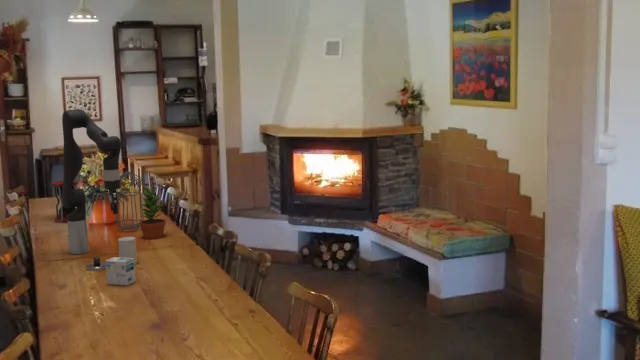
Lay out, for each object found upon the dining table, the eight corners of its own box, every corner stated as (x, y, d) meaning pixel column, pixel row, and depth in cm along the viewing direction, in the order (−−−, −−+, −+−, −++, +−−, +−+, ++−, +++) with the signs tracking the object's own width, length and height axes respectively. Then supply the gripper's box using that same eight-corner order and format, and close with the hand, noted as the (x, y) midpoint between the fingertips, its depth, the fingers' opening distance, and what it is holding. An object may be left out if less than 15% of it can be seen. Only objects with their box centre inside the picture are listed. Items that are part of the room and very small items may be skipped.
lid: (81, 269, 338) (81, 258, 338) (99, 264, 347) (98, 254, 346) (95, 272, 333) (94, 261, 332) (112, 267, 341) (111, 256, 340)
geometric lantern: (123, 227, 429) (120, 169, 424) (148, 227, 427) (145, 169, 422) (112, 232, 414) (109, 173, 409) (138, 233, 411) (135, 173, 407)
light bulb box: (136, 281, 314) (134, 257, 313) (127, 285, 308) (125, 261, 307) (115, 279, 318) (113, 256, 316) (106, 284, 312) (104, 260, 310)
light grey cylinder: (132, 265, 342) (130, 240, 340) (116, 264, 343) (114, 240, 341) (140, 260, 349) (138, 236, 348) (124, 260, 351) (122, 236, 349)
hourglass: (50, 222, 449) (46, 183, 445) (63, 217, 465) (59, 179, 461) (73, 223, 446) (70, 183, 442) (86, 217, 462) (82, 179, 458)
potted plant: (173, 235, 403) (169, 182, 398) (153, 241, 390) (149, 187, 385) (154, 232, 411) (150, 181, 406) (134, 238, 398) (130, 185, 393)
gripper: (102, 177, 342) (104, 210, 345) (105, 181, 329) (107, 216, 332) (118, 176, 345) (120, 208, 347) (122, 180, 332) (124, 214, 334)
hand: (114, 212), depth 339 cm, fingers open, 8 cm apart
